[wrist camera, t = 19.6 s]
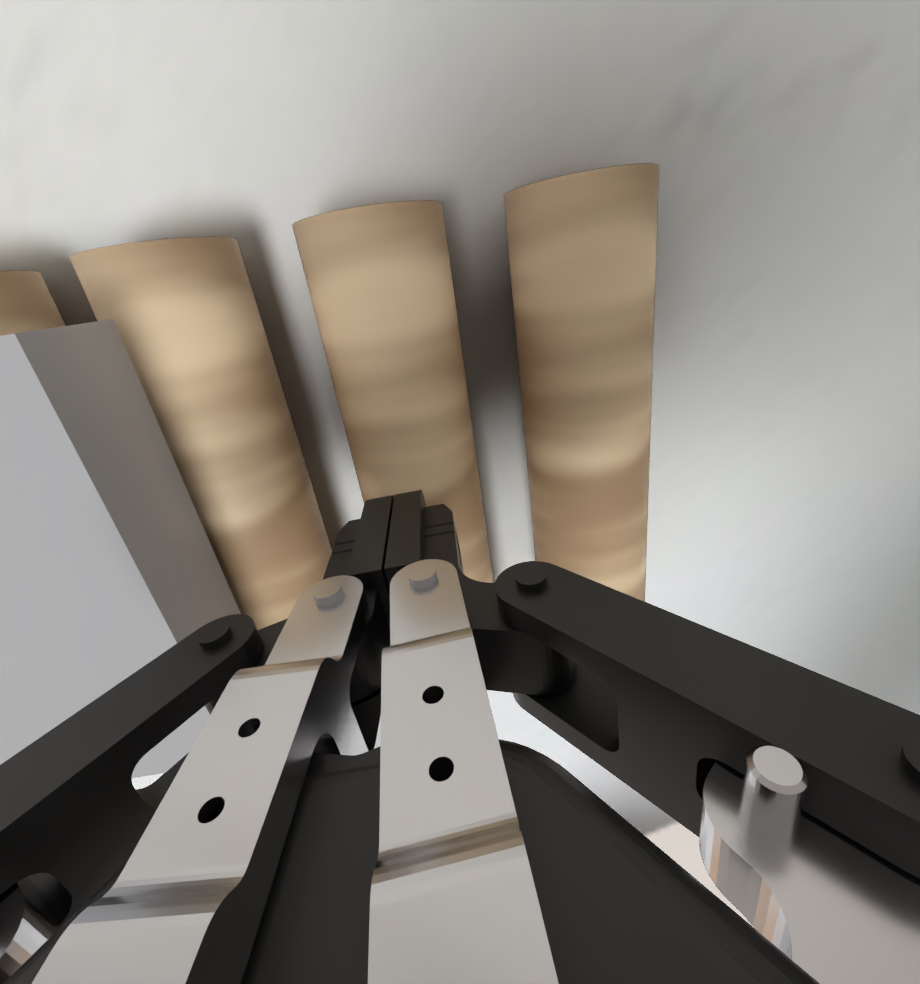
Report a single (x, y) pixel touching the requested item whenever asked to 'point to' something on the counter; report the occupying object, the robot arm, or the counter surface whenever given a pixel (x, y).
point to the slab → (90, 536)
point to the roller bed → (398, 376)
